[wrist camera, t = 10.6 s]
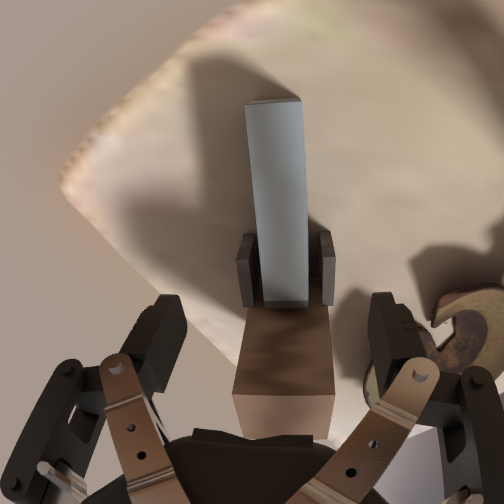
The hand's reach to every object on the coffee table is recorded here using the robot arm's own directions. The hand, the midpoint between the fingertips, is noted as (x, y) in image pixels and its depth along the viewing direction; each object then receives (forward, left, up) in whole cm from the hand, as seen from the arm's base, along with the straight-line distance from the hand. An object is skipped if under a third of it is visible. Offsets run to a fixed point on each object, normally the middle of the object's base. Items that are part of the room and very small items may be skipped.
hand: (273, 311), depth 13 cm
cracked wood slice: (-22, +19, -17) cm, 34 cm away
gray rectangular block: (0, +1, -17) cm, 17 cm away
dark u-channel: (0, +11, -17) cm, 20 cm away
